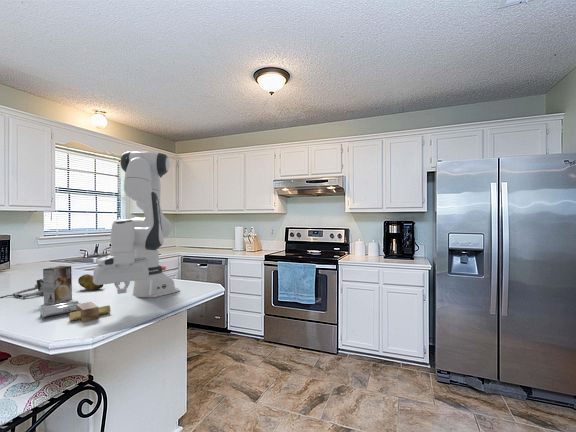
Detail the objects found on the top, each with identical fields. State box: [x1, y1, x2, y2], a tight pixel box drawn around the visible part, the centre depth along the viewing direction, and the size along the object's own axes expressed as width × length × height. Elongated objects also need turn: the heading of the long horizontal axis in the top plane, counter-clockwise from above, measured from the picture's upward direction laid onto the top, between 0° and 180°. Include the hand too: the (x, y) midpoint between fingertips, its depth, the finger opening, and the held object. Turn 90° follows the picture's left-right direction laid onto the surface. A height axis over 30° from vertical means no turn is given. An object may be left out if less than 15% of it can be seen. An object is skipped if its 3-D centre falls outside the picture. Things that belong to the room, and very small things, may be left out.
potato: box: [77, 274, 104, 291], centre depth 169 cm, size 8×13×8 cm, turn 64°
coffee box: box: [42, 265, 73, 305], centre depth 145 cm, size 9×6×16 cm
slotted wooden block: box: [76, 301, 100, 323], centre depth 117 cm, size 5×10×6 cm, turn 46°
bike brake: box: [0, 278, 44, 300], centre depth 156 cm, size 14×7×20 cm
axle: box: [68, 305, 111, 322], centre depth 118 cm, size 13×3×3 cm, turn 136°
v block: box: [39, 300, 81, 321], centre depth 121 cm, size 12×7×5 cm, turn 136°
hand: (121, 293), depth 125 cm, fingers closed
